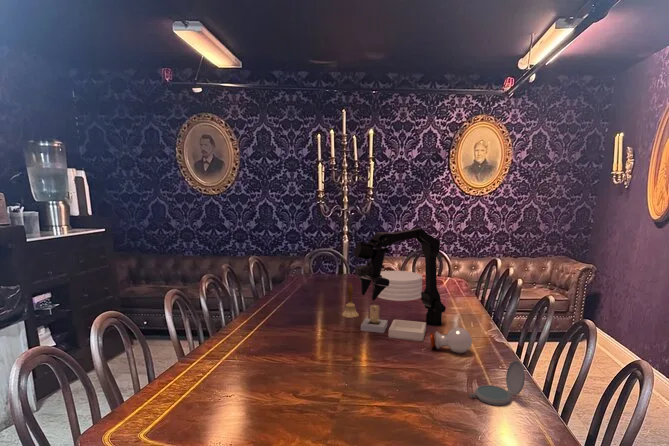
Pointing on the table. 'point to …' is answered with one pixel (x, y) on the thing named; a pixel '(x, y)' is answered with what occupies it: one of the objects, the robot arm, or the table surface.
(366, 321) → the collar block
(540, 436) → the table surface
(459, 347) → the potion bottle
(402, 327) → the tray
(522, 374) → the pocket watch
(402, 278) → the plate stack
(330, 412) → the table surface
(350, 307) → the hand bell
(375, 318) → the brass peg
